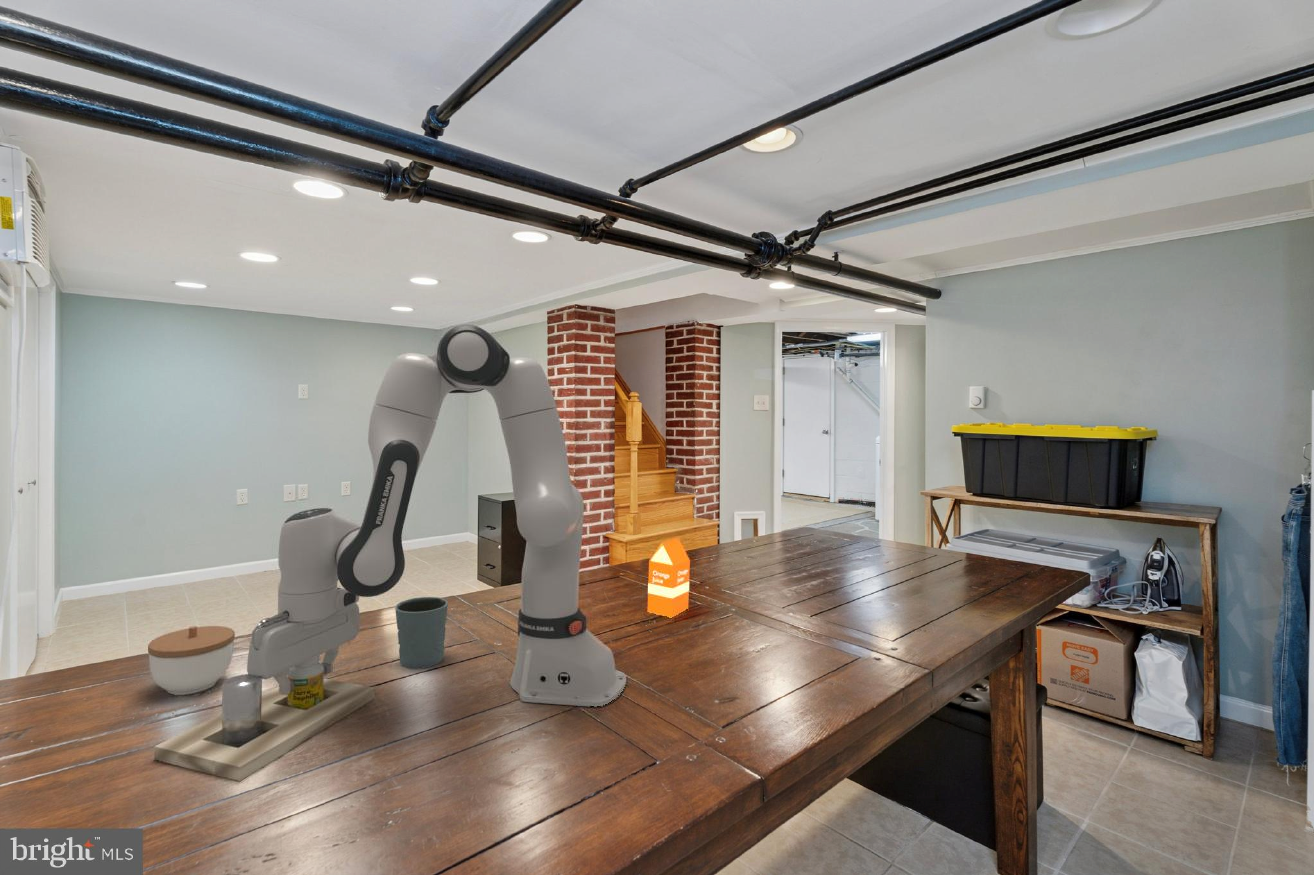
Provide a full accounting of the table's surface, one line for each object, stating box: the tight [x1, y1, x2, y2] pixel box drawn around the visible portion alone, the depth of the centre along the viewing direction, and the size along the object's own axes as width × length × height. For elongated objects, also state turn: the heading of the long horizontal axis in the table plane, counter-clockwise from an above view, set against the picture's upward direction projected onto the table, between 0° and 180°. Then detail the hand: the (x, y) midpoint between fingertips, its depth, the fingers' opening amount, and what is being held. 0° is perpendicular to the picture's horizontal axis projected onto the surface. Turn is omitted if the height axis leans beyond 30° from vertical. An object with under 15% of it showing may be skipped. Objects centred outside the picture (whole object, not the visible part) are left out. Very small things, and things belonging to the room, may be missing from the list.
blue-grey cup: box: [394, 596, 449, 670], centre depth 126 cm, size 10×10×12 cm
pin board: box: [153, 678, 375, 782], centre depth 98 cm, size 16×26×2 cm, turn 165°
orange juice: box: [647, 537, 691, 618], centre depth 161 cm, size 8×9×20 cm
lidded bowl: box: [147, 625, 236, 696], centre depth 111 cm, size 13×13×11 cm
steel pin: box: [221, 673, 263, 748], centre depth 92 cm, size 5×5×10 cm
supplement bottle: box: [287, 655, 325, 710], centre depth 104 cm, size 5×5×10 cm
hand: (307, 682), depth 104 cm, fingers open, 7 cm apart
